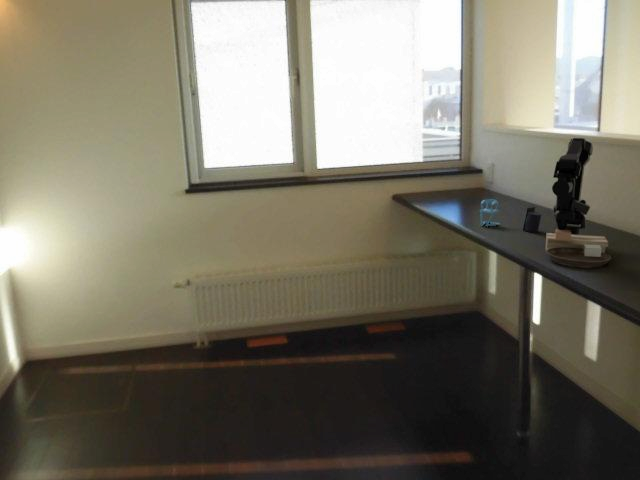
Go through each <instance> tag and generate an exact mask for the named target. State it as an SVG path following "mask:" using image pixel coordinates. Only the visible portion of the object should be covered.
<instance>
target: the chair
mask: <svg viewBox="0 0 640 480" xmlns="http://www.w3.org/2000/svg"><path fill="white" fill-rule="evenodd" d="M484 204H486V205H485V206H486V207H485V208H484V206H483V205H484ZM489 204H490V206H491V207H490V208H489ZM480 206H481V209H479V210H478V212H479V214H480V227H484V226H485V227H486V226H487V227H486V228H488V226H490V227H497V226H496V225H498V226H500V225H501V223H500V222H493V221H492V219H493V217H494V215H495V214H497V213H499V212H500V209H498V206H499V202H498V200H496V199H494V198H489V199H483V200H482V201H481V202H480ZM493 206H495V209H493V208H494V207H493ZM484 213H485V214H486V213H488V214H490V217H489V219H488V221H487V220H485V221H484ZM489 223H490V224H489ZM484 224H485V225H484ZM483 225H484V226H483Z"/></svg>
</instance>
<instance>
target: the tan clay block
mask: <svg viewBox="0 0 640 480" xmlns="http://www.w3.org/2000/svg"><path fill="white" fill-rule="evenodd" d="M554 233H555V240H561V241H571V231H570V230H559V229H558V228H556V229H555V232H554Z"/></svg>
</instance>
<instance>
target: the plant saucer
mask: <svg viewBox="0 0 640 480" xmlns="http://www.w3.org/2000/svg"><path fill="white" fill-rule="evenodd" d="M546 254H547V255H548V257H549V258H550V259H551V260H552V261H553V262H554V263H556V264H559V265H562V266H566V265H567V266H568V267H573V268H584V269H585V268H586V269H590V268H591V269H592V268H593V269H594V268H599V267H602V266H604V265H606V264H607V263H608V262H609V261H610V260H611V258H612V257H611V255H609V254H608V253H606V252H605V253H602V252H601V257H593V256H585V255H584V249H582V248H569V247H560V248H551V249H548V250H547V252H546Z"/></svg>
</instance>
